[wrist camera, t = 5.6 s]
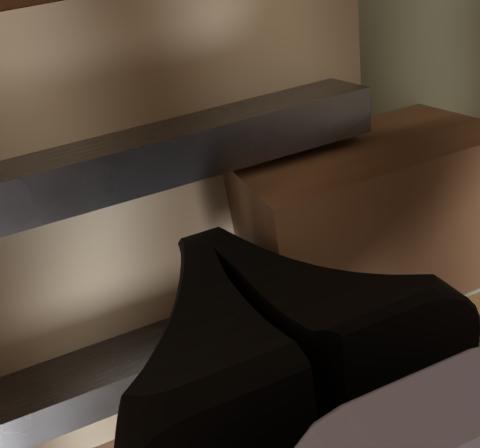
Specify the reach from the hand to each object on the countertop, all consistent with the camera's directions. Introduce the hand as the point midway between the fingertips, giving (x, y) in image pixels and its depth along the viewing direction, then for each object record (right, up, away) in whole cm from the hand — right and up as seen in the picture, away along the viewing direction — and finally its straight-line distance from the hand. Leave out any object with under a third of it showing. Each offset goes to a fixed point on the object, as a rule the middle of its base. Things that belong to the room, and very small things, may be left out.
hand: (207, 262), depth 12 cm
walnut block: (+4, +2, +2) cm, 5 cm away
